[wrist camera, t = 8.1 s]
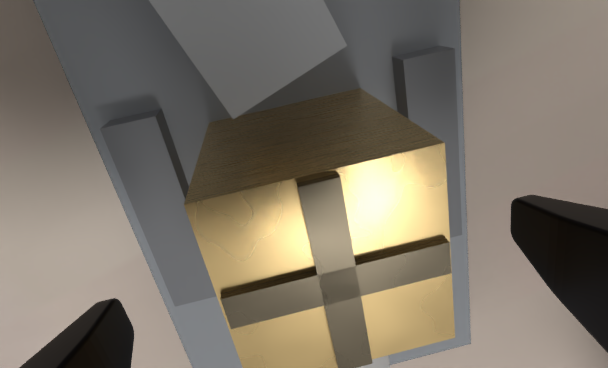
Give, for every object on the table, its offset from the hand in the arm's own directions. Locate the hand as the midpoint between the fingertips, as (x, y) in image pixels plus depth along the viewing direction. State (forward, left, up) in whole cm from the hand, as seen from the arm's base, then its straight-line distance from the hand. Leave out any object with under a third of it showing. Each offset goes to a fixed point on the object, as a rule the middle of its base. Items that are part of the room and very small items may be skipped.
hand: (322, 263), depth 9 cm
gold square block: (0, 0, -5) cm, 5 cm away
